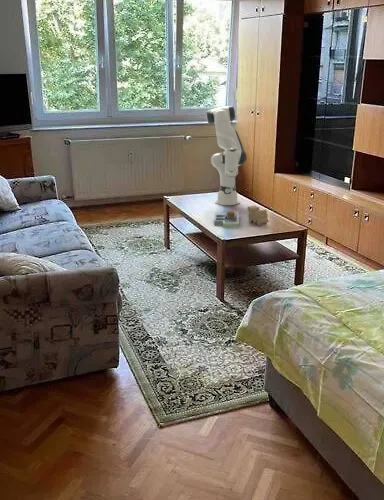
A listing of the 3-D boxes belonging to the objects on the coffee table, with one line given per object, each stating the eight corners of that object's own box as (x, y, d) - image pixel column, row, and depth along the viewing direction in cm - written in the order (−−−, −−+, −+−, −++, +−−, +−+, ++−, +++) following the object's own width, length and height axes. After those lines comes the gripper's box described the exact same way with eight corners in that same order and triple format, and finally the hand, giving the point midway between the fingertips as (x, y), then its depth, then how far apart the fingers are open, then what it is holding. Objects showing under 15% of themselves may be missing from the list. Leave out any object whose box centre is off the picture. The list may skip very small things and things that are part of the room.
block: (227, 217, 365) (227, 210, 363) (234, 217, 364) (234, 210, 363) (227, 219, 360) (227, 212, 358) (234, 219, 360) (234, 212, 358)
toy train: (261, 226, 343) (262, 212, 340) (247, 220, 357) (247, 206, 354) (268, 225, 345) (269, 211, 342) (253, 219, 360) (254, 205, 356)
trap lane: (215, 216, 367) (215, 212, 366) (238, 216, 365) (238, 212, 364) (213, 227, 343) (213, 223, 342) (238, 227, 342) (238, 223, 341)
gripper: (227, 168, 369) (227, 188, 373) (226, 174, 350) (226, 194, 354) (236, 168, 368) (236, 188, 373) (236, 174, 349) (235, 194, 354)
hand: (231, 191), depth 363 cm, fingers closed
